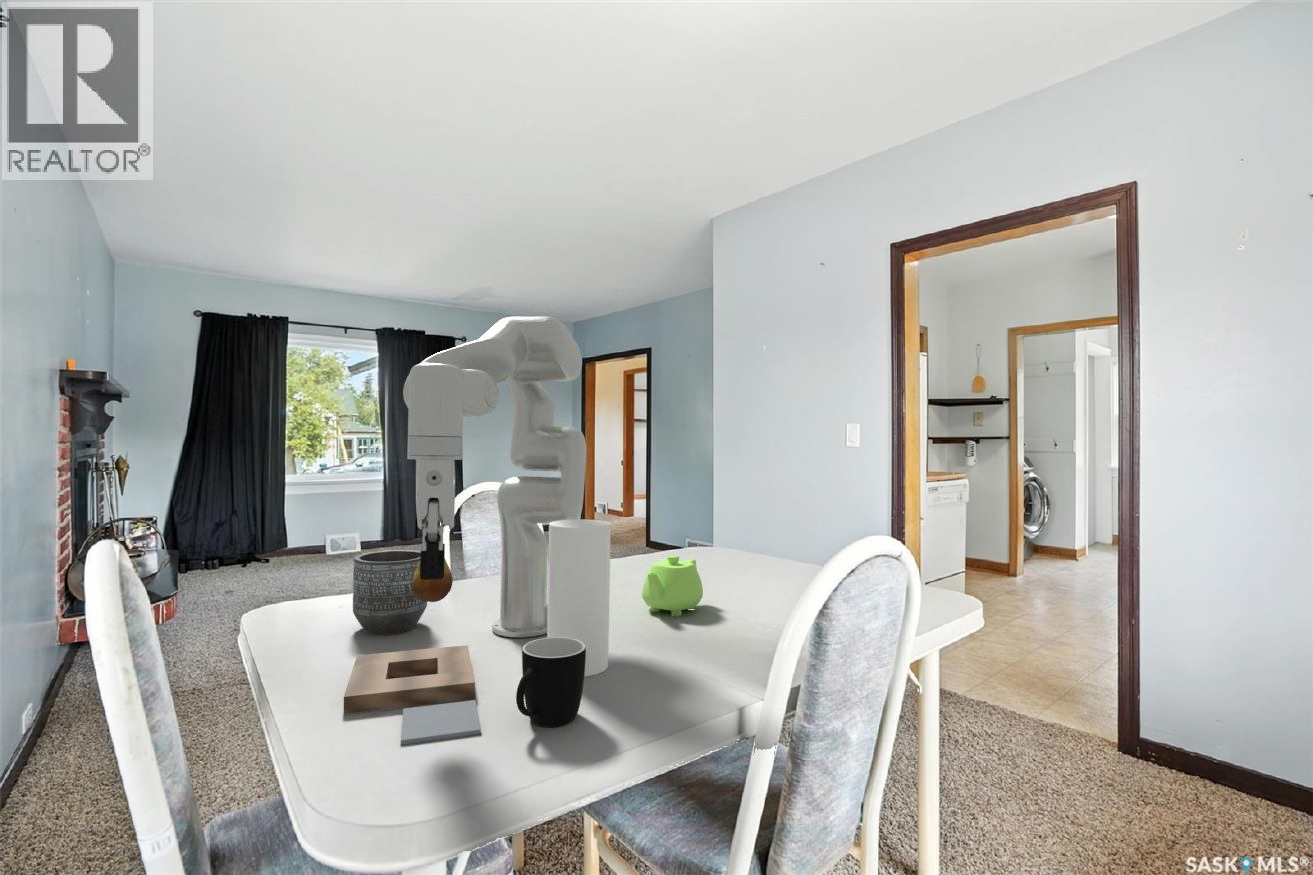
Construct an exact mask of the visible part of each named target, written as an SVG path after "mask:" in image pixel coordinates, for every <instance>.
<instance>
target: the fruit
mask: <svg viewBox="0 0 1313 875" xmlns="http://www.w3.org/2000/svg"><path fill="white" fill-rule="evenodd" d="M445 527H446V526H445V525H443V529H444V528H445ZM453 580H454V578H453V575H452V571H451V569H450V567H449V564H448V562H447V561H446V557H445V558H444V578H443V579H430V580H421V579H420V562H419V564H418V567H417V569H416V571H415V573H414V576H413V580H412V589H413V592H414V594H415V596H416V597H417V598H418V599H420V600H422V601H426V602H427V603H436V602H440V601H441V600H443V599H445V598H446V597H447V596H448V594H449V593H450V592H451V590H452V588H453V583H454V581H453Z"/></svg>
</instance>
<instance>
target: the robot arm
mask: <svg viewBox="0 0 1313 875" xmlns="http://www.w3.org/2000/svg"><path fill="white" fill-rule="evenodd" d="M581 353H582V352H581V350H580V347H579V344H578V343H577V342H576V340H575V338H574V337H573V335H572V334H571V333H570V331H569V330H568V328H567V327H566V326H565V324H563V322H562V321H560V320H559V319H557V318H555V317H552V316H547V315H546V316H543V315H542V316H509V317H505V318H502V319H500V320H498V321H497V322H496V323H495V324H494V325H492V326H491V327H490V328H489V329H488V330H487V331H486V332H485V333H484V334H483V335H481V336H480V337H479V338H478V339H477V340H473V341H470V342H466V343H463V344H461V345H457V346H456V347H451V348H449V349H445V350H442V351H440V352H437V353H435V354H433V355H431V356H429V357H427V358H425V359H424V360H422V361H421V362H420V363H418V364H415V365H414V366H412V367H411V369H410V371H409V373H408V375H407V377H406V380H405V382H404V384H403V388H402V389H403V390H402V392H403V394H402V395H403V400H404V404H405V405H406V407H407V409H408V415H407V416H408V417H407V418H408V420H407V455H406V456H407V457H406V458H407V460H415V506H416V508H415V510H416V519H417V528H419V529H420V530H421V531H422V539H421V540H422V543H421V550H419V551H420V579H421V580H430V579H443V578H444V558H445V559H446V557H445V555H446V554H445V553H446V552H445V550H446V549H445V546H446V545H445V544H446V543H444V531H445V529H444V528H443V525H445V527H448V530H452V529H454V527H455V510H456V509H455V506H456V505H455V504H456V503H455V500H456V469H455V468H456V465H455V464H456V463H455V460H456V461H457V460H459V461H461V460H463V438H464V437H463V434H464V433H463V432H464V431H463V430H464V428H463V427H464V418H483V417H485V416H487V415H489V414H491V412H493V411H494V410H495V408H496V407H497V405H498V402H499V398H500V397H499V396H500V395H499V394H500V391H499V386H498V384H500V383H502V382H505V381H506V383H507V385H508V388H509V390H510V393H511V397H512V399H513V406H514V407H513V408H514V410H513V419H512V421H513V422H512V429H511V440H510V450H509V452H510V453H509V454H510V455H509V456H510V462H511V464H512V465H513V466H514V467H515V468H516V469H519V470H523V471H532V472H534V471H535V472H559V473H560V475H561V476H559V477H558V476H557V477H556V476H553V477H552V476H551V477H550V476H533V475H532V476H529V475H528V476H527V475H525V476H524V475H523V476H521V475H520V476H518V475H517V476H513V477H510V478H507V479H505V480H504V481H503V482H502V483H501V484H500V486H499V488H498V490H497V495H496V496H497V498H496V500H497V508H498V513H499V520H500V534H501V535H500V536H501V546H500V547H501V550H500V552H501V556H500V558H501V563H500V564H501V565H500V567H501V568H500V614H499V615H500V616H499V617H500V619H497V620H495V621H494V622H493V623H492V626H491V627H492V628H491V629H492V632H493V633H494V634H496V635H498V636H502V637H505V638H506V637H507V638H531V637H538V636H542V635H545V634H546V635H547V622H548V563H549V541H548V540H547V537H546V534H544V532H543V530H542V528H541V527H540V526H539V525H538V524H550V523H551V522H554V521H560V520H573V519H580V517H581V516H582V515H581V514H582V511H583V505H584V497H585V496H584V495H585V494H584V493H585V482H586V481H585V478H586V467H587V466H586V465H587V444H586V439H585V436H584V434H583V432H582V431H581V430H580V429H579V428H577V427H573V426H563V425H562V426H559V425H557V426H556V425H555V424H554V422H555V421H554V420H555V410H556V407H555V403H554V401H553V399H552V397H551V395H550V394H549V393H548V392H547V390H546V389H544V387H543V385H542V384H541V383H540V382H554V383H555V382H558V383H559V382H571V381H575V380H576V379H577V378H578V377H579V376H580V374H581V371H582V368H583V367H582V366H583V359H582V358H583V357H582V354H581Z"/></svg>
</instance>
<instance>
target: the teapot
mask: <svg viewBox="0 0 1313 875" xmlns="http://www.w3.org/2000/svg"><path fill="white" fill-rule="evenodd" d="M666 557H667V559H665V560H659V561H656V562H654V563H652V564H651V567H650V568H649V570H648V572H647V575H646V576H645V579H644V582H643V586H642V592H641V593H642V594H641V595H642V599H643V601H644V602H645V605H646V606H648V607H650V608H649V610H648V612H651V613H658V612H660V611H661V610H665V611H671V614H670V616H672V615H673V616H672V617H675V616H679V617H681V616H680V615H682V616H683V612H682V611H683V610H685V609H696V606H697V605H699V603H700V602H701V600H702V598H703V595H704V589H703V584H702V580H701V576H700V574H699V572H698V568H697V561H696V559H693V558H688V559H686V560H680V555H679V556H678V555H668V556H666Z"/></svg>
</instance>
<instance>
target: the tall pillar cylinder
mask: <svg viewBox="0 0 1313 875" xmlns="http://www.w3.org/2000/svg"><path fill="white" fill-rule="evenodd" d="M611 524H612V523H611V522H610V521H604V520H598V519H584V518H582V519H580V518H579V519H573V520H560V521H554V522H551V523H548V586H547V604H548V622H547V633H546V635H547V636H546V638H550V637H565V638H572V639H576V640H579V641H581V642H583V643H584V644H585V647H586V660H585V674H584V678H586V677H591V676H595V675H598V674H600V673H603V672H604V671H606V670H608V668H609V649H610V648H609V646H610V645H609V643H610V642H609V640H610V639H609V637H610V636H609V635H610V593H611V592H610V591H611V590H610V586H611V584H610V583H611V582H610V581H611V533H612V532H611V531H612V529H611V526H612V525H611Z"/></svg>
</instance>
